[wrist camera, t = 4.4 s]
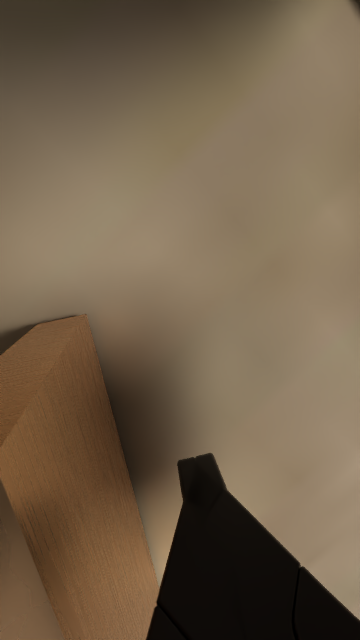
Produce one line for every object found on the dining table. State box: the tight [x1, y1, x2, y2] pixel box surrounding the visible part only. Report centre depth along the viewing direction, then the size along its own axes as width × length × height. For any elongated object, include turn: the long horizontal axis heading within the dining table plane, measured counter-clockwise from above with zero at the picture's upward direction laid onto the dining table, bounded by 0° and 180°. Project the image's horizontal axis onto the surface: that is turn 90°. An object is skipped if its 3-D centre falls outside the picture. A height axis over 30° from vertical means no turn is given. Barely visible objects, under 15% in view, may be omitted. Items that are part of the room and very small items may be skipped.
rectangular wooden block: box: [0, 314, 159, 640], centre depth 6 cm, size 11×2×6 cm, turn 10°
